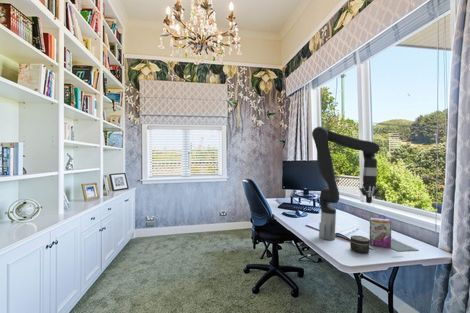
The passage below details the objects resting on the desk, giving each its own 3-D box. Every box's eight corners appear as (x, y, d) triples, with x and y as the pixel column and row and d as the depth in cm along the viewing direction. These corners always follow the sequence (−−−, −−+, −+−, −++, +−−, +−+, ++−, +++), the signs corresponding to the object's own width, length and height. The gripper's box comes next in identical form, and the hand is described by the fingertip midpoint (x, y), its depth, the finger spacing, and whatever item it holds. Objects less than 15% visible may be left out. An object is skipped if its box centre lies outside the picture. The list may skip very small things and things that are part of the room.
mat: (397, 251, 137) (397, 250, 137) (374, 240, 155) (374, 239, 155) (418, 250, 140) (418, 250, 140) (393, 239, 158) (393, 239, 158)
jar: (372, 255, 131) (372, 241, 131) (353, 253, 132) (353, 240, 132) (365, 248, 141) (366, 235, 141) (347, 246, 142) (348, 234, 142)
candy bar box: (370, 245, 146) (370, 219, 146) (369, 242, 150) (369, 217, 150) (391, 248, 141) (391, 221, 141) (389, 245, 146) (389, 219, 145)
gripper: (364, 175, 139) (363, 204, 139) (384, 175, 141) (383, 204, 141) (356, 174, 147) (355, 201, 147) (374, 174, 149) (373, 201, 149)
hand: (368, 202), depth 144 cm, fingers closed
